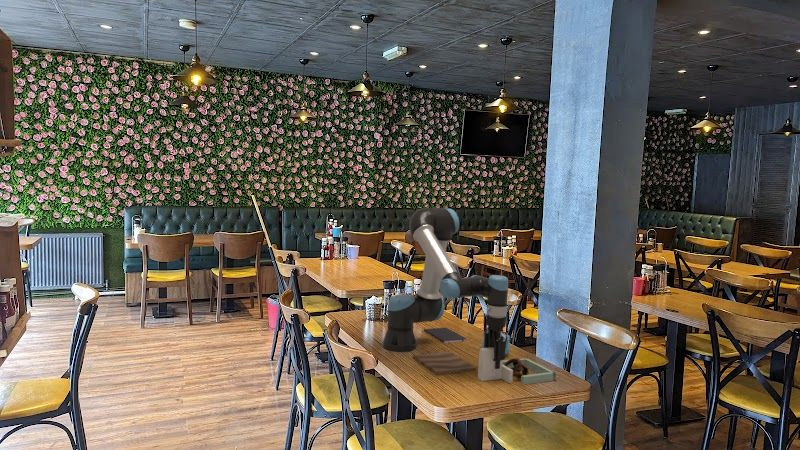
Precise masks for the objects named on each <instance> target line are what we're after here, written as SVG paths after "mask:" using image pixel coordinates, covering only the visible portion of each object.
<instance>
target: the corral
mask: <svg viewBox="0 0 800 450" xmlns="http://www.w3.org/2000/svg"><path fill="white" fill-rule="evenodd" d="M519 359H520V360H521V362H523V363H524V364H525V365H526V366H527V369H528V370H531V371H533V372H535V373H533V374H529V375H521V376H520V384H521V385H524V386H525V385H532V384H538V383H546V382H554V381H556V379H557V372H555V371H553V370H552V369H549V368H547V367H545V366H543V365H542V364H540V363H537V362H536V361H533V360H531V359H530V358H527V357H525V358H524V357H523V358H519ZM508 360H509V359H507V360H505V359H504V360H503V365H504V364H505V363H506V362H507V361H508ZM507 367H508V368H512V367H514V366H513V362H512V363H511V364H509V365H508V366H507Z"/></svg>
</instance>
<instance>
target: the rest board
mask: <svg viewBox="0 0 800 450" xmlns="http://www.w3.org/2000/svg"><path fill="white" fill-rule="evenodd" d="M412 359H414V360H415V361H416V362H418V363H419V364H420V365H422V366H424V368H426V369H427V370H429V371H431V372H432V373H434V374H435V375H436V376H440V375H448V374H456V373H458V374H459V373H463V372H464V373H465V372H473V371H474V372H475V371H477V367H476V366H475V365H473V364H471V363H469V361H468V362H467V361H466V360H465V359H463V358H461V357H460V356H458V355H456V354H454V353H453V352H452V351H442V352H441V351H440V352H439V351H438V352H431V353H428V352H427V353H421V354H419V353H418V354H412Z"/></svg>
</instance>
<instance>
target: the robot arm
mask: <svg viewBox="0 0 800 450" xmlns="http://www.w3.org/2000/svg"><path fill="white" fill-rule="evenodd" d="M408 224H409V225H408V227H409V232H410V235H411V237H412V238H413V240H414V241H415V242H418V244H419V245H420V247H421V249H422V250H423V253H424V254H425V260H424V264H423V265H424V266H423V270H422V271H423V272H422V278H421V285H420V288H419V289H417V290H416V294H415V296H414V295H413V294H409V293H402V294H401V293H400V294H395V295H393V296H391V297H390V299H389V300H388V306H387V310H388V311H387V329H386V332H385V334H384V335H385V336H384V338H383V341H382V348H384V349H386V350H389V351H392V352H411V351H414V350H415V349H416V348H417V341H416V337H415V333H414V324H415V323H416V324H419V323H427V322H429V323H431V322H434V321H435V322H436V321H438V320H440V319H441V318H442V317H443V315H444V313H445V311H446V309H445V307H446V305H445V300H444V298H446V299H457V298H470V297H483V298H487V306H486V314H487V315H486V321H485V324H486V326H487V327H485V328H483V334H484V336H483V337H484V348H490V347H494V359H493V368H492V377H497V376H499V369H500V361H501V360H503V361H504V360H505V356H506V354H505V348H506V341H507V339H508V337H507V335H506V336H504V335H505V334H504V328H505V327H506V325H507V324H506V323H507V308H508V294H509V279H508V277H506V276H505V275H500V274H499V275H498V274H492V275H490V276H489V277H484V276H482V275H476V274H475V275H471V276H470V277H461V275H460V274H459V273H458V271H457V270H456V267H455V266H454V263H452V261H451V259H450V258H449V256H448V254H447V247H448V243H449V242H451V241H452V238H453V235H455V234H456V233H457V232H458V231H459V229H460V218H459V216H458V213H457V212H456V211H455V210H454V209H452V208H445V207H430V208H429V207H422V208H418V209H417V210H416V211H414V212H413V213H412V215H411V216H410V219H409V223H408Z"/></svg>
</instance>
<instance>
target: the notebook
mask: <svg viewBox="0 0 800 450" xmlns="http://www.w3.org/2000/svg"><path fill="white" fill-rule="evenodd" d="M423 332H425V333H426V334H428V335H429V334H430V335H429V336H431V337H432V338H434V337H435V339H436V340H438V341H439V340H440V342H441V343H443V344H447V343H448V342H449V343H455V342H456V343H459V342H467V337H465V336H462V335H461V334H459V333H457V332H456V331H453V330H452V329H450V328H448V327H438V328H437V327H434V328H425V329H423Z"/></svg>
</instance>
